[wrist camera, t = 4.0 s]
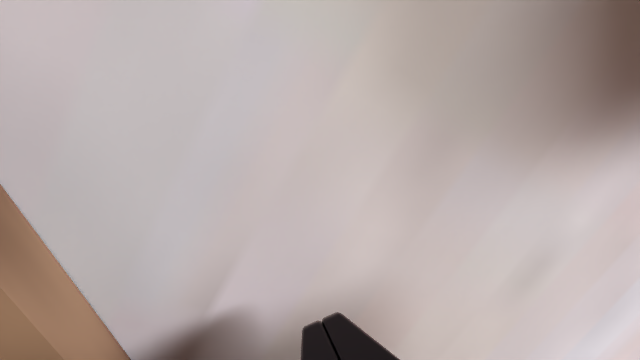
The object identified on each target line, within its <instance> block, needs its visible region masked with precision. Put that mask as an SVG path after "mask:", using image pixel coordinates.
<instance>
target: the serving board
mask: <svg viewBox="0 0 640 360" xmlns="http://www.w3.org/2000/svg"><path fill="white" fill-rule="evenodd" d="M0 360H131V359H130V358H129V357H128V355H127V354H126V353H125V351H124V350H123V349H122V347H121V346H120V345H119V343H118V342H117V341H116V339H115V338H114V336H113V335H112V334H111V332H110V331H109V330H108V328H107V327H106V326H105V324H104V323H103V322H102V320H101V319H100V318H99V316H98V315H97V314H96V312H95V311H94V310H93V308H92V307H91V306H90V304H89V303H88V302H87V300H86V299H85V297H84V296H83V295H82V293H81V292H80V291H79V289H78V288H77V287H76V285H75V284H74V283H73V281H72V280H71V279H70V277H69V276H68V275H67V273H66V272H65V271H64V269H63V268H62V267H61V265H60V264H59V263H58V261H57V260H56V259H55V257H54V256H53V254H52V253H51V252H50V250H49V249H48V248H47V246H46V245H45V244H44V242H43V241H42V240H41V238H40V237H39V236H38V234H37V233H36V232H35V230H34V229H33V228H32V226H31V225H30V224H29V222H28V221H27V220H26V218H25V217H24V215H23V214H22V213H21V211H20V210H19V209H18V207H17V206H16V205H15V203H14V202H13V201H12V199H11V198H10V197H9V195H8V194H7V193H6V191H5V190H4V189H3V187H2V186H1V185H0Z"/></svg>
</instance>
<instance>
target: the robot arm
mask: <svg viewBox="0 0 640 360" xmlns="http://www.w3.org/2000/svg"><path fill="white" fill-rule="evenodd" d="M301 360H399V359H398V358H397V357H396V356H394V355H393V354H392V353H391V352H389V351H388V350H387V349H386V348H384V347H383V346H382V345H380V344H379V343H378V342H377V341H375V340H374V339H373V338H372V337H370V336H369V335H368V334H367V333H365V332H364V331H363V330H361V329H360V328H359V327H358V326H356V325H355V324H354V323H353V322H351V321H350V320H349V319H348V318H346V317H345V316H344V315H342V314H341V313H338V312H337V313H334V314H332V315H329V316H327V317H325V318H323V319H322V322H321V321H316V322H313V323H311V324H309V325H306V326H305V327H304V328H303V330H302V347H301Z"/></svg>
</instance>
